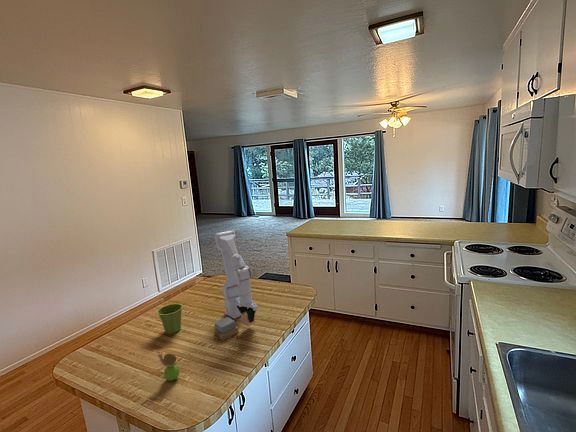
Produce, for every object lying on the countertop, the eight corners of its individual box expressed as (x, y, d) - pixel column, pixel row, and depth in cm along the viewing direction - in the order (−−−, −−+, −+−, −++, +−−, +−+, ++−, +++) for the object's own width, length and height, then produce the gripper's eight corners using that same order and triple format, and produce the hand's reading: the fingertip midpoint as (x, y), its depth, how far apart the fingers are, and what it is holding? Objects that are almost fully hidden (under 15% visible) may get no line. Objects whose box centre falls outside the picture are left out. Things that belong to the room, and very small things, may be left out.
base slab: (214, 335, 142) (213, 329, 142) (229, 327, 148) (228, 321, 147) (223, 340, 137) (222, 334, 136) (238, 333, 142) (237, 327, 142)
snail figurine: (164, 375, 116) (159, 346, 114) (181, 373, 116) (177, 344, 114) (160, 385, 111) (154, 355, 109) (178, 383, 111) (173, 353, 109)
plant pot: (190, 328, 150) (187, 307, 148) (167, 339, 141) (163, 317, 139) (178, 321, 158) (175, 301, 156) (156, 332, 149) (152, 310, 148)
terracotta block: (241, 323, 144) (240, 313, 143) (249, 319, 147) (248, 309, 146) (247, 326, 141) (246, 316, 140) (255, 322, 144) (254, 312, 143)
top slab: (215, 328, 142) (214, 322, 142) (227, 322, 147) (227, 316, 146) (222, 333, 137) (222, 327, 137) (235, 327, 142) (235, 321, 141)
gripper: (229, 292, 144) (232, 318, 146) (247, 300, 133) (250, 328, 136) (241, 287, 148) (244, 313, 151) (259, 294, 138) (263, 322, 140)
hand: (248, 320), depth 143 cm, fingers closed on terracotta block, 4 cm apart
